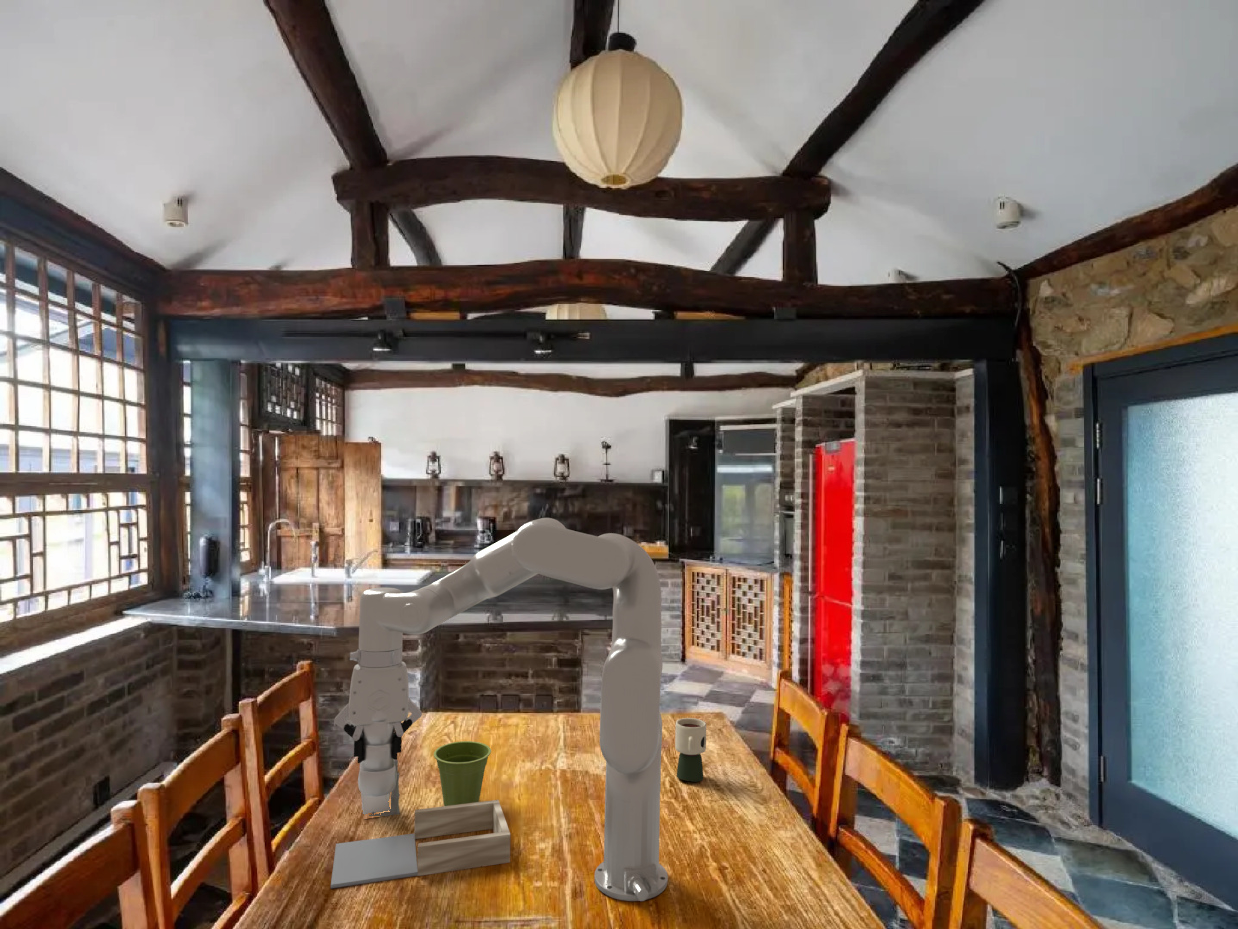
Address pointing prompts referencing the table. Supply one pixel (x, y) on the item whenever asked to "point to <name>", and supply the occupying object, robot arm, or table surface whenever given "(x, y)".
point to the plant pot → (461, 771)
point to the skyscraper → (383, 800)
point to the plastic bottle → (377, 758)
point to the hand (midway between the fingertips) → (377, 757)
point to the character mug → (690, 748)
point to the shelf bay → (462, 849)
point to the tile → (374, 860)
